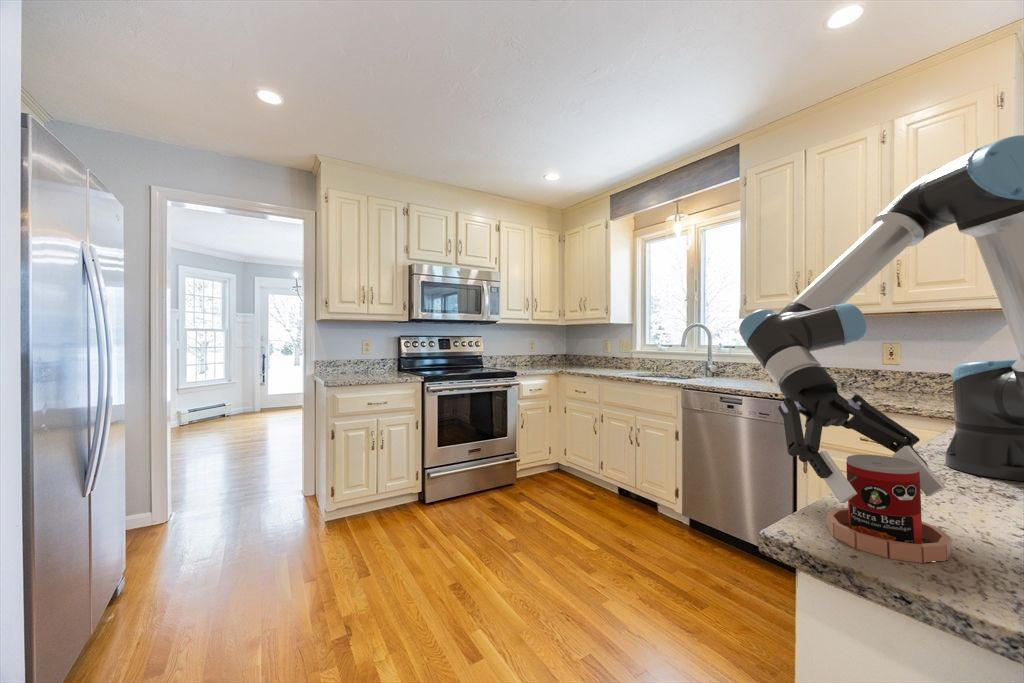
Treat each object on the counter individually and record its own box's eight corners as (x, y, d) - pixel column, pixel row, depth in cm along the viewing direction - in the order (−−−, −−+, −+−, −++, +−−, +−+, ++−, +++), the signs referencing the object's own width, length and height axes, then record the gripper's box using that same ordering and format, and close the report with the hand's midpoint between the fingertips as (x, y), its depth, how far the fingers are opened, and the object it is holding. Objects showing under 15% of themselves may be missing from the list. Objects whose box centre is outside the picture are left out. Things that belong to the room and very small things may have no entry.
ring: (844, 514, 67) (843, 501, 67) (957, 542, 56) (957, 527, 56) (815, 536, 59) (814, 522, 59) (940, 573, 49) (939, 556, 49)
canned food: (841, 537, 59) (838, 460, 59) (858, 522, 63) (855, 451, 64) (915, 559, 52) (912, 472, 53) (928, 540, 57) (924, 461, 57)
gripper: (851, 389, 76) (950, 501, 60) (725, 395, 73) (795, 513, 58) (878, 361, 70) (994, 476, 55) (743, 366, 68) (827, 488, 53)
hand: (893, 495), depth 56 cm, fingers open, 13 cm apart
